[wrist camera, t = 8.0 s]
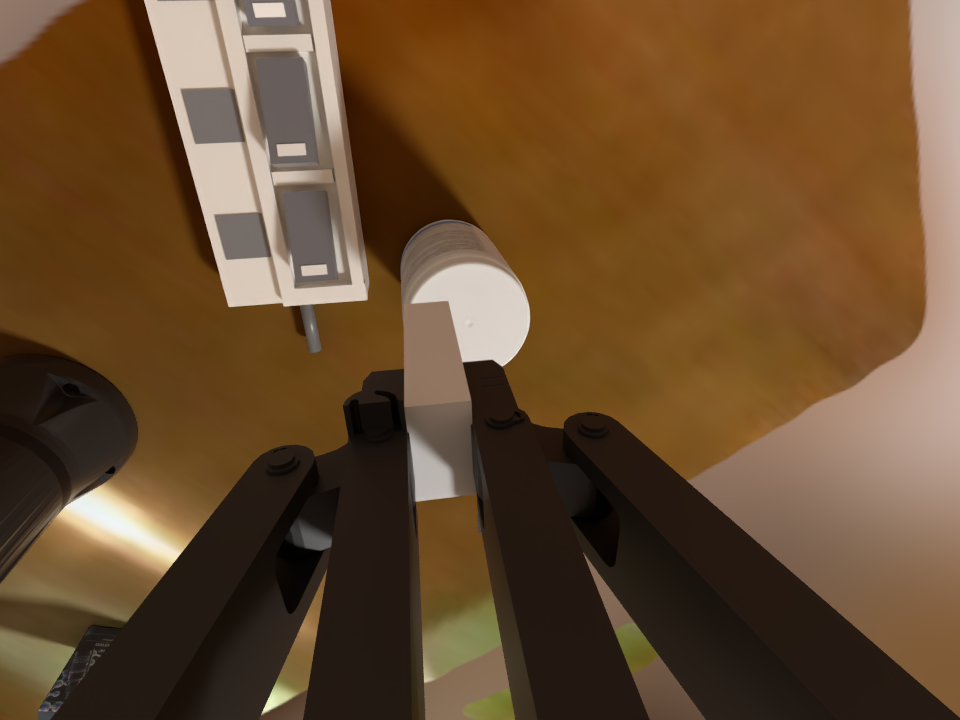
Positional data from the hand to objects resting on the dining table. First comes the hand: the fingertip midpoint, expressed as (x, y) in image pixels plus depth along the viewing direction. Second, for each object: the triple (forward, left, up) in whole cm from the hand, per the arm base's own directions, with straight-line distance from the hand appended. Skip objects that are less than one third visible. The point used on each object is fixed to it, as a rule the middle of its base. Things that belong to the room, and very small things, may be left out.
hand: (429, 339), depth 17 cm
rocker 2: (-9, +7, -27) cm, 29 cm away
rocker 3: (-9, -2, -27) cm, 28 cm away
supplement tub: (+3, -7, -33) cm, 33 cm away
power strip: (-11, +4, -32) cm, 34 cm away
